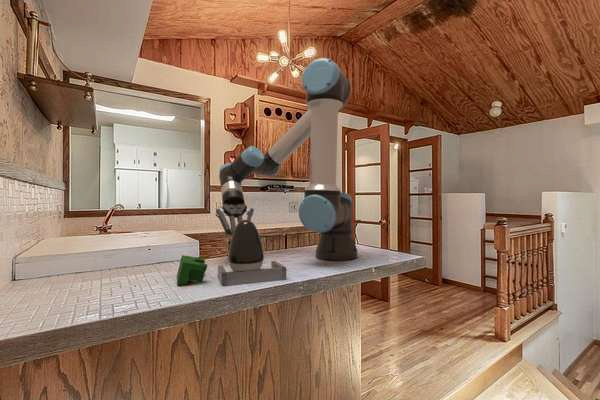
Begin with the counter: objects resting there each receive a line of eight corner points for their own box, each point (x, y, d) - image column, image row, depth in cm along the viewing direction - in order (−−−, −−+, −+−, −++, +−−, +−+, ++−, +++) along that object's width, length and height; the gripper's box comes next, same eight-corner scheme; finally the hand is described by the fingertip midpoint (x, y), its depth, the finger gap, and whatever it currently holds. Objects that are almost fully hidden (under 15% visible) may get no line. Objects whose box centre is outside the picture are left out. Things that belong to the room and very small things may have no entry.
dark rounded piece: (265, 268, 92) (264, 218, 92) (262, 276, 81) (261, 220, 81) (231, 268, 91) (231, 219, 91) (224, 277, 81) (224, 221, 81)
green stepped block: (198, 300, 76) (207, 270, 74) (173, 297, 74) (182, 266, 71) (199, 272, 87) (208, 245, 84) (178, 269, 84) (185, 241, 82)
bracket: (275, 271, 88) (275, 260, 88) (286, 279, 78) (286, 267, 78) (217, 276, 82) (217, 265, 82) (222, 286, 73) (222, 273, 73)
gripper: (249, 204, 112) (259, 256, 97) (213, 204, 108) (218, 259, 92) (252, 189, 107) (263, 241, 92) (214, 189, 103) (219, 244, 87)
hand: (240, 250), depth 92 cm, fingers closed
